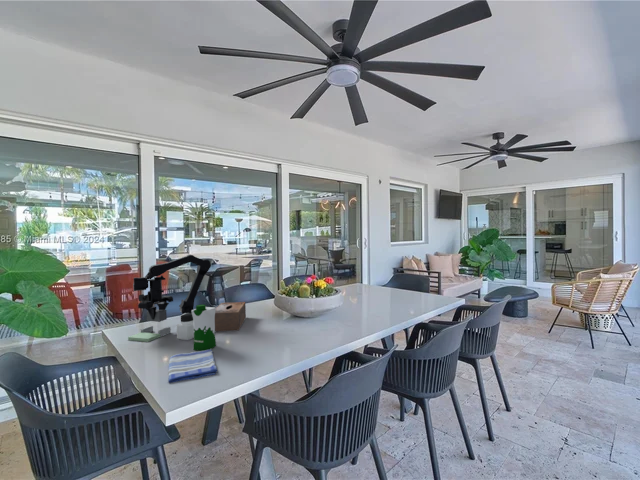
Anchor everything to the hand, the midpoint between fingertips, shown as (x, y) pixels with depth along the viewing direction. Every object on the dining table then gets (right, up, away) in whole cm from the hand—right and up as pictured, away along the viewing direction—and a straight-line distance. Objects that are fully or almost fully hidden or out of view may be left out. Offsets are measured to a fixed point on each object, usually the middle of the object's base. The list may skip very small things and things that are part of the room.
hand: (156, 318), depth 170 cm
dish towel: (+36, -9, -44) cm, 58 cm away
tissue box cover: (+34, -8, +15) cm, 38 cm away
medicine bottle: (+20, -8, -8) cm, 23 cm away
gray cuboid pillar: (0, -1, 0) cm, 1 cm away
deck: (-1, -8, -5) cm, 9 cm away
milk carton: (+34, -8, -23) cm, 42 cm away
